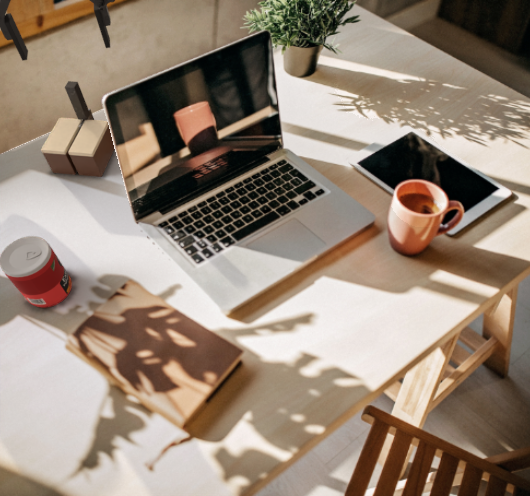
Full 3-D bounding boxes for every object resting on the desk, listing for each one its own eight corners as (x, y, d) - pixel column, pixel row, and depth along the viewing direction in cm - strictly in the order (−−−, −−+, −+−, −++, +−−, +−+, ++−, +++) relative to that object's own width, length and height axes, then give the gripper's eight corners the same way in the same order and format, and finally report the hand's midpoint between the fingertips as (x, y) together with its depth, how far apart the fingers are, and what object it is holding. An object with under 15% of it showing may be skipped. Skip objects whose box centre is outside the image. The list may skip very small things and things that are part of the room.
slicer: (93, 129, 111) (71, 75, 100) (102, 130, 111) (81, 75, 99) (84, 148, 108) (60, 93, 96) (93, 148, 107) (70, 94, 96)
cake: (70, 141, 110) (59, 117, 105) (117, 145, 109) (108, 120, 104) (53, 173, 104) (40, 149, 99) (102, 177, 103) (91, 153, 98)
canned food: (80, 294, 87) (56, 258, 78) (35, 317, 84) (6, 283, 75) (64, 264, 91) (40, 227, 82) (21, 286, 88) (-8, 250, 79)
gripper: (-95, -73, 62) (-13, 74, 79) (106, -97, 65) (143, 50, 82) (-83, -96, 66) (-8, 48, 84) (104, -118, 69) (140, 26, 86)
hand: (67, 49), depth 83 cm, fingers open, 13 cm apart
